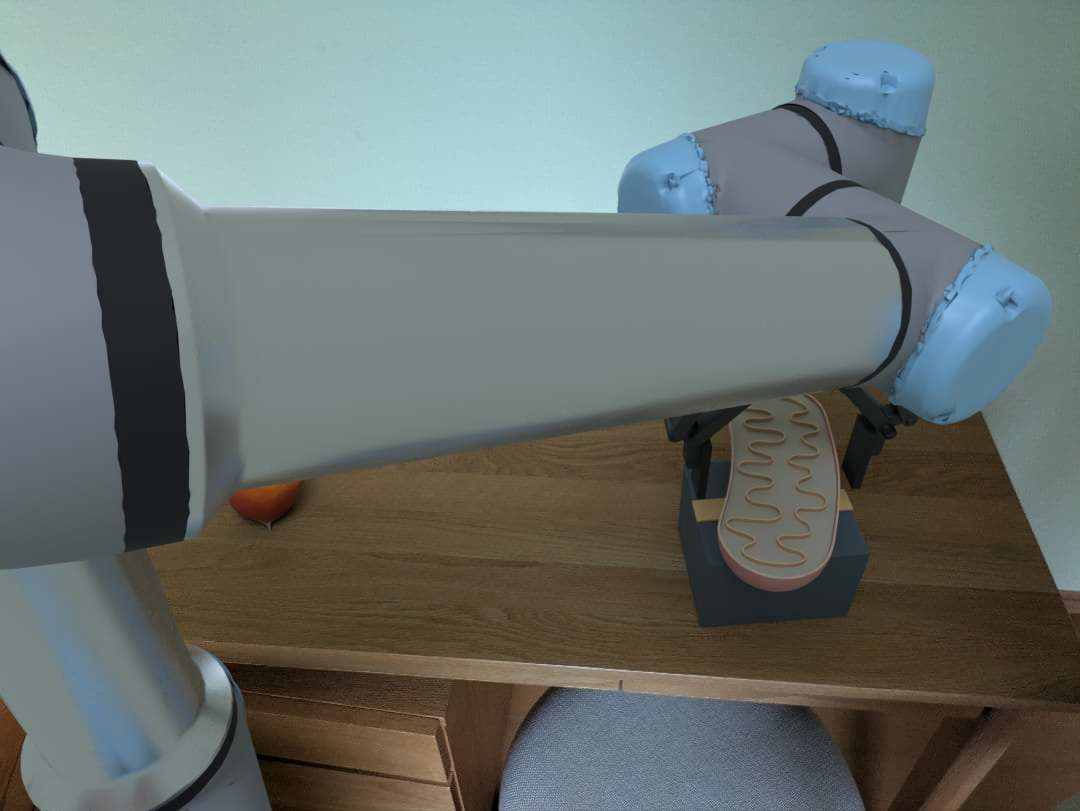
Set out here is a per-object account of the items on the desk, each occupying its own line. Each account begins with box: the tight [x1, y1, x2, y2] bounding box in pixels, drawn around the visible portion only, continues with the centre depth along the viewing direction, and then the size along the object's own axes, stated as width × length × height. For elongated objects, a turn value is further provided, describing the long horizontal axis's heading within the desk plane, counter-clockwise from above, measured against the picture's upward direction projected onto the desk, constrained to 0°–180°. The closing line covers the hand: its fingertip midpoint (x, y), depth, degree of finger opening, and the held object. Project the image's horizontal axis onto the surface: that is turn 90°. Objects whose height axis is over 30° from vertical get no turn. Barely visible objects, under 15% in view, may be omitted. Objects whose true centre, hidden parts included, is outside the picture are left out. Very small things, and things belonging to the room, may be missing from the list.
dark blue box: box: [677, 460, 871, 628], centre depth 75 cm, size 14×12×10 cm
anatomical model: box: [717, 394, 841, 592], centre depth 69 cm, size 23×10×5 cm, turn 167°
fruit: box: [227, 481, 301, 533], centre depth 86 cm, size 8×8×8 cm
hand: (774, 483), depth 69 cm, fingers open, 13 cm apart
